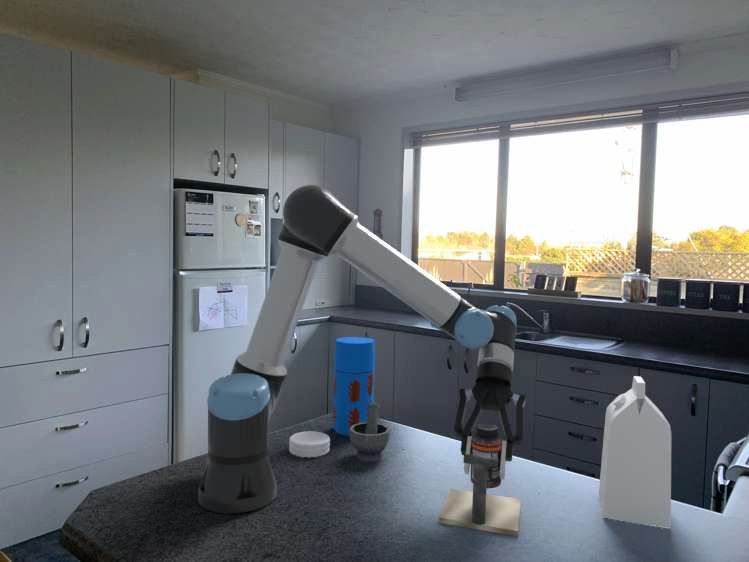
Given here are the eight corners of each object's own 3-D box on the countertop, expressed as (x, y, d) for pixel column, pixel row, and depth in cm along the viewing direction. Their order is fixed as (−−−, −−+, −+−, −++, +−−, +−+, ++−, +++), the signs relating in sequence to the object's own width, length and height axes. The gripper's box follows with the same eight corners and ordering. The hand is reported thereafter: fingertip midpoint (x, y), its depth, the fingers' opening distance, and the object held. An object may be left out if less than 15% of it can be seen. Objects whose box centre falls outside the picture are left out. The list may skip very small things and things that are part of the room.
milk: (670, 529, 100) (678, 389, 99) (602, 518, 104) (609, 383, 103) (659, 501, 112) (666, 375, 110) (598, 492, 115) (605, 370, 114)
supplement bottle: (479, 474, 111) (481, 419, 110) (506, 482, 107) (508, 425, 106) (464, 483, 106) (466, 426, 105) (492, 492, 102) (494, 433, 102)
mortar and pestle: (385, 466, 126) (386, 415, 125) (345, 462, 128) (346, 412, 127) (392, 449, 137) (393, 402, 136) (355, 445, 139) (356, 399, 138)
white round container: (280, 451, 134) (280, 437, 134) (309, 441, 142) (309, 427, 142) (310, 462, 128) (310, 447, 128) (338, 450, 136) (338, 436, 136)
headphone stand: (439, 523, 100) (441, 453, 100) (450, 493, 113) (453, 430, 112) (517, 537, 96) (520, 464, 96) (521, 504, 109) (523, 439, 108)
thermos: (380, 428, 152) (382, 339, 151) (358, 439, 143) (361, 345, 142) (348, 421, 158) (350, 335, 157) (325, 431, 149) (327, 340, 148)
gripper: (540, 383, 117) (536, 489, 103) (452, 375, 123) (436, 474, 108) (541, 363, 112) (536, 472, 97) (449, 356, 118) (432, 458, 103)
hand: (484, 473), depth 103 cm, fingers closed on supplement bottle, 6 cm apart
